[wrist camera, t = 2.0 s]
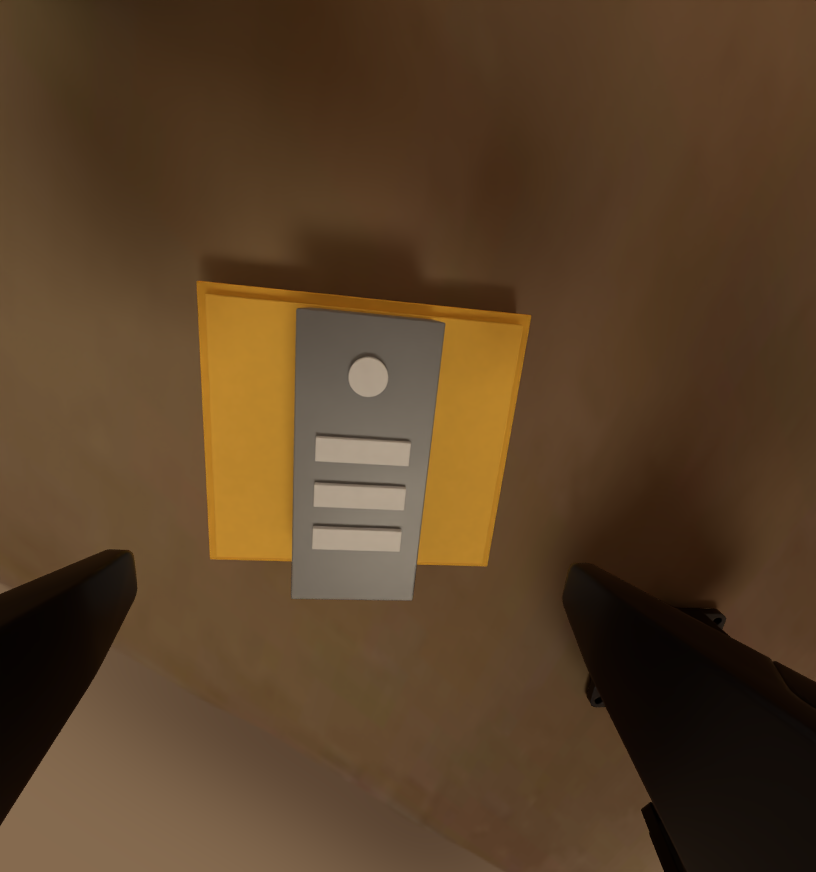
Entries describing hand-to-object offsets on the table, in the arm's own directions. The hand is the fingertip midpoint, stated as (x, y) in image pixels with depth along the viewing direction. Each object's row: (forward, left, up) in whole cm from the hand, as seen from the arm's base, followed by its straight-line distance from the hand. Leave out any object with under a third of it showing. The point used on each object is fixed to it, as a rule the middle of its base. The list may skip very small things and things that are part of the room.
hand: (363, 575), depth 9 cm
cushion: (0, 0, -10) cm, 10 cm away
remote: (0, 0, -8) cm, 8 cm away
